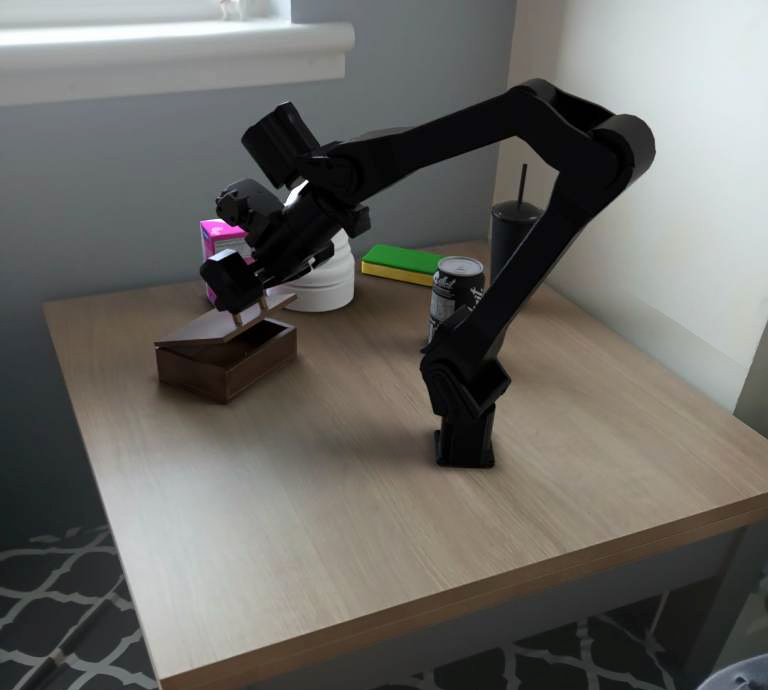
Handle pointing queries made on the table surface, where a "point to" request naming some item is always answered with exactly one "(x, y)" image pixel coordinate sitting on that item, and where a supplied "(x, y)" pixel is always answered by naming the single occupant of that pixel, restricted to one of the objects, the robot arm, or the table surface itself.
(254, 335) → the tea box
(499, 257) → the drinking cup
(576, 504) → the table surface
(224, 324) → the lid
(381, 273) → the dish sponge
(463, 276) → the beverage can
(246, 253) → the supplement box
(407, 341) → the table surface
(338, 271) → the honey pot
